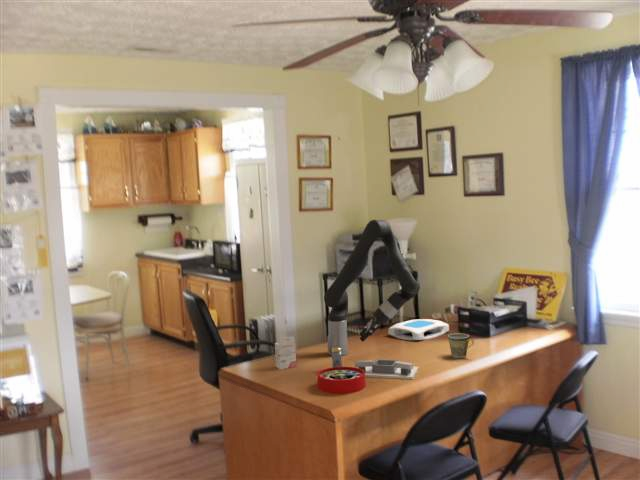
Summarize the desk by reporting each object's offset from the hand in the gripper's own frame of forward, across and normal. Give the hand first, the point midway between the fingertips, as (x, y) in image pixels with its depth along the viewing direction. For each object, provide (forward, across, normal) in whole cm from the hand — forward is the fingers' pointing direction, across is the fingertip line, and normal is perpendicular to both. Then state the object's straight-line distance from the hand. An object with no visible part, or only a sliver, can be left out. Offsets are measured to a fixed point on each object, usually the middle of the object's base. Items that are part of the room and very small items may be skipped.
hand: (361, 338), depth 301 cm
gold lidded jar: (+18, 0, +2) cm, 18 cm away
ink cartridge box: (+35, -6, -15) cm, 39 cm away
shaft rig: (+3, +7, +17) cm, 19 cm away
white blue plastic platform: (-13, -65, +34) cm, 74 cm away
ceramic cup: (-24, -16, +44) cm, 53 cm away
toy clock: (+17, +25, +4) cm, 31 cm away
